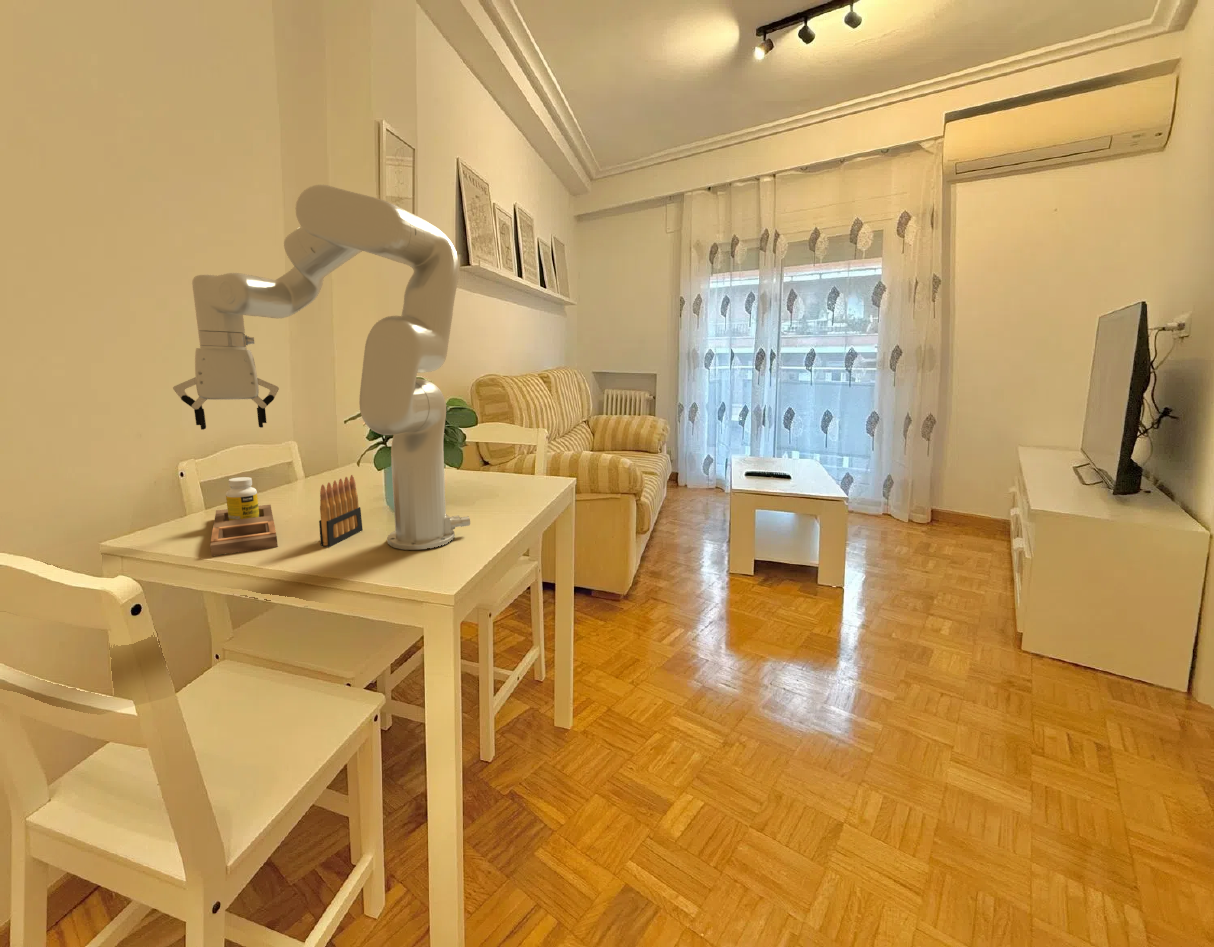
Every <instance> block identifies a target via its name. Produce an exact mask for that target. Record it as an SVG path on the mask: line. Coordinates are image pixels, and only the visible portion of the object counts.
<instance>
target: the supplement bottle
mask: <svg viewBox="0 0 1214 947" xmlns="http://www.w3.org/2000/svg"><path fill="white" fill-rule="evenodd" d="M252 479H253V478H252V477H247V476H241V477H232V478H229V479H228V487H229V489H228V490H227V491H225V498H226V499H225V500H226V506H227V509H228V518H229V520H238V519H246V518H255V517H259V508H258V506H259V500H258V499H259V498H258V491H257V489H256V488H255V487H252V485H253V480H252Z"/></svg>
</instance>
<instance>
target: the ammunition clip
mask: <svg viewBox="0 0 1214 947" xmlns="http://www.w3.org/2000/svg"><path fill="white" fill-rule="evenodd" d="M356 485H357V483H356V480H355V477H354V475H353V474H351V475H350V477H349V478H348V477H347V476H345V478H344V480H343V479H342V478H339V481H338V482H337V481H336V480H333V483H332V484H331V482H328V483H327V485H326V487H325V484H324V483H323V484H321V487H320V490H319V492H320V493H319V497H320V498H319V499H320V502H319V504H320V505H319V512H320V520H319V521H318V523H319V524H318V525H319V537H320V538H319V539H320V541H319V542H320V546H321V547H325V548H331V547H333V546H335V545H337V544H339V543H341V542H343V541H344V540H345V541H346V540H347V539H350V538H351V537H352V536H354V535H356V534H358V533H361V532H363V520H362V510H361V509H362V508H361V507H360V506H359V495H358V493H357V486H356ZM360 531H361V532H360Z"/></svg>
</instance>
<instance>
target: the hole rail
mask: <svg viewBox="0 0 1214 947" xmlns="http://www.w3.org/2000/svg"><path fill="white" fill-rule="evenodd" d="M258 508H259V517H255V518H246V519H238V520H229V518H228V509H226V508H224V509H217V510H215V515H214V521H213V528H212V531H211V537H210V545H209V548H210V552H211V554H210V555H211V557H215V556H214V555H217V556H221V555H220V554H224V555H226V554H225V553H231V554H235V553H234V552H238V553H243V552H250V551H256V550H257V551H259V550H265V549H270V548H277V547H279V546H278V545H279V544H278V538H277V531H276V525H275V520H274V516H273V510H272V505H271V504H265V505H258Z"/></svg>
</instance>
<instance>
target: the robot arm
mask: <svg viewBox="0 0 1214 947" xmlns="http://www.w3.org/2000/svg"><path fill="white" fill-rule="evenodd" d="M295 217H296V220H297V221H298V223H299V225H300V226H299V227H298V228H296V229H294V230H293V231H292V232H290V233H289V234H288V235H287V236H286V237H285V238H284V241H283V247H284V251H285V254H286V256H287V258H288V259H289V261H290V262H291V264H292V265H293V267H292V268H291V269H290V270H288V271H287V272H286V273H285V274H283V275H282V276H280V277H278V278H276V279H273V278H266V277H261V276H256V275H252V274H251V275H250V274H246V273H239V272H228V273H224V274H219V275H214V274H197V275H195V276H194V277H193V278H192V283H191V284H192V291H193V299H194V309H195V315H196V316H195V318H196V325H197V330H198V331H197V332H198V340H199V345H200V346H199V347H198V348H197V347H195V353H194V373H195V377H193V378H192V377H191V378H190V379H188V380H186V381H183V382H180V383H178V384H176V385H174V386H173V387H172V389H173V391H174V392H175V393H176V394H177V396H178V398H180V400H181V401H182V402H184V403H185V404H186V405H188V406H189V407H191V408H192V409H193V411H194V419H195V425H196V426H200V430H203V431H204V430H205V429H206V428H207V424H206V415H205V409H204V408H203V404H204V403H205V402H206V401H207V400H216V401H217V400H252V401H253V402H254V403H255V404H256V405H257V407H256V412H257V421H258V422H257V424H258V428H260V429H261V428H264V424H267V423H268V422H267V414H266V408H267V407H268V406H269V405H270V404H271V403H272V402H273V401H274V399H275V397H276V396H277V394H278V392H279V390H280V388H279V386H278V385H275V384H273V383H270V382H268V381H267V380H264V379H261V378H259V377H258V375H257V368H256V364H255V359H254V355H253V352H252V350H251V349H248V348H247V346H248V345H255V337H252V336H248V335H247V334H246V329H245V321H244V316H249V317H259V318H261V317H262V318H268V319H269V318H270V319H284V318H288V317H291V316H293V315H295V314H296V313H298V312H300V311H301V310H303V309H304V308H306V307H308V306H310V304H311V303H313V302H314V301H315V300H316V298H318V296H319V294H320V292H321V290H322V288H323V284H324V278H326V276H329V274H331V273H332V272H334V271H335V270H337V269H338V268H340V267H341V266H343V265H344V264H346V263H347V262H349V261H350V260H352V259H353V258H354V257H356V256H357V255H359V254H360V253H362V252H364V253H365V252H366V253H368V254H372V255H375V256H378V257H381V258H383V259H387V260H391V261H393V262H397V263H400V264H403V265H407V266H408V267H410V268H412V269H413V272H412V275H411V277H410V278H409V280H408V282H407V285H406V288H405V291H404V295H403V305H402V309H401V310H402V312H401V315H389V316H386V317H382V318H381V319H378V321H377V322H376V323H375V324H374V325H373V326H372V327H371V329H370V330H369V333H368V335H367V337H366V341H365V345H364V352H363V362H362V370H361V372H362V373H361V380H360V389H359V410H360V416H361V418H362V420H363V422H364V424H365V425H366V426H367V427H368V428H369V429H370V430H371V431H373V432H374V433H376V434H380V435H383V436H393V437H392V441H391V446H390V447H391V448H390V449H391V450H390V456H391V457H390V458H391V465H390V466H391V480H392V494H393V495H392V496H393V512H394V526H395V528H394V529H395V530H393V531H392V532H390V533H389V534H388V535H387V538H386V539H387V544H388V545H389V546H391V547H392V548H395V549H399V550H404V551H405V550H406V551H407V550H408V551H409V550H410V551H420V550H428V549H427V548H430V549H435V548H438V546H439V547H442V546H444V545H443V544H445V545H447V544H449V543H450V542H449V541H451V540H452V541H454V539H455V537H454V536H456V534H455V529H456V528H458V527H459V528H462V527H463V528H464V527H468V526H470V525H471V519H470V516H468V515H467V516H463V517H461V516H460V515H454V516H453V515H452V516H449V515H448V514H447V513H446V512H447V510H446V496H445V495H446V489H445V488H446V486H445V485H446V484H445V483H446V482H445V461H444V459H445V458H444V457H445V456H444V455H445V454H444V434H445V426H446V419H447V418H446V417H447V416H446V415H447V403H446V398H445V396H444V393H443V391H442V390H441V389H440V388H439V387H438V386H437V385H436V384H435V383H433V382H432V381H430V380H426V379H423V378H417V376H418V374H423V373H431V372H435V371H437V370H439V369H440V368H442V367H443V365H444V364H445V361H446V359H447V356H448V355H447V354H448V351H449V350H448V349H449V342H450V336H451V335H450V334H451V327H452V324H453V323H452V322H453V316H454V306H455V298H456V292H457V288H458V282H459V277H460V261H459V256H458V253H457V249H456V247H455V246H454V244H453V243H452V241H451V240H450V239H449V237H448V236H447V235H446V233H444V232H443V231H442V230H440V228H438V227H437V226H435V225H434V224H432V223H430V222H429V221H427V220H426V219H424V218H422V217H420V216H418V215H417V214H415V213H412V212H410V211H408V210H406V209H404V208H402V207H401V206H399V205H396V204H394V203H392V202H390V201H387V200H385V199H381V198H377V197H374V196H370V195H365V194H362V193H358V192H355V191H350V190H346V189H342V188H338V187H335V186H331V185H328V184H315V185H312V186H309V187H307V188H306V189H304V190H303V191H302V192H301V194H299V196H298V198H297V200H296V203H295ZM194 386H196V387H195V388H196V391H197V395H198V398H196V399H194V398H192V397H191V396H190V395H189V394H187V392H186V390H187V389H188V388H191V387H194ZM259 386H260V387H263V388H265V389H267V390H269V392H268V394H267V396H265V398H263V399H262V398H261V397H260V396H259V390H260V389H259ZM453 538H454V539H453ZM452 541H451V542H452ZM448 542H449V543H448ZM441 545H442V546H441ZM434 547H435V548H434Z"/></svg>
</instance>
